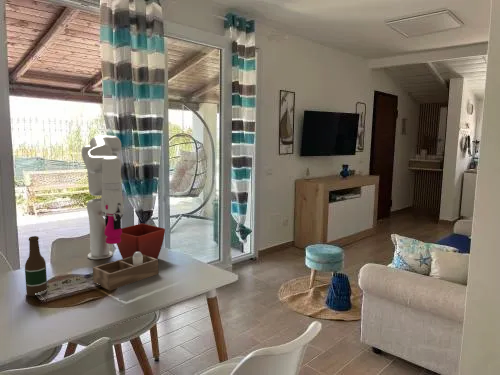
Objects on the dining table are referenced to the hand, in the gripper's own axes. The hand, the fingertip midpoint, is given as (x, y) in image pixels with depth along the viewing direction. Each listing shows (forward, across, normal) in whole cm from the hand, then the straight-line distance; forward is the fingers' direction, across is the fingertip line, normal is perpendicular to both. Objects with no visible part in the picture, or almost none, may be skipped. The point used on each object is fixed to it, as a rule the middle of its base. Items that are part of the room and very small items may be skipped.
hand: (113, 227), depth 162 cm
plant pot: (+26, -18, +26) cm, 41 cm away
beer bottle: (+26, -16, -26) cm, 40 cm away
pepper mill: (+7, 0, 0) cm, 7 cm away
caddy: (+26, 0, +6) cm, 27 cm away
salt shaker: (+25, 0, +12) cm, 28 cm away
